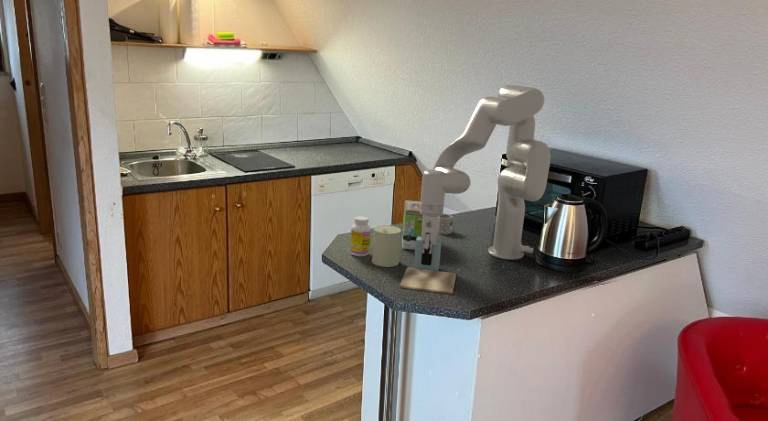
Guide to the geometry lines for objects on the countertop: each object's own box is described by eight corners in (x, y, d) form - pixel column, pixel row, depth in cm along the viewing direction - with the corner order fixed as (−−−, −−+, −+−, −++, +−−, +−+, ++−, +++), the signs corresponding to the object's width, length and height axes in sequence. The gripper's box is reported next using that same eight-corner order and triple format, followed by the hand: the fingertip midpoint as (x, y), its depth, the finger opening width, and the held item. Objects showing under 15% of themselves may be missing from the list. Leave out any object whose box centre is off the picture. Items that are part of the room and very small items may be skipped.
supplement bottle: (362, 258, 202) (364, 222, 199) (346, 253, 205) (347, 218, 202) (372, 253, 208) (375, 218, 204) (357, 249, 211) (359, 214, 207)
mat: (456, 275, 192) (456, 273, 192) (452, 294, 177) (452, 292, 177) (407, 269, 195) (407, 267, 195) (399, 287, 180) (399, 285, 180)
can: (367, 263, 197) (369, 229, 194) (377, 255, 206) (379, 222, 203) (393, 268, 194) (396, 233, 191) (402, 260, 203) (405, 226, 200)
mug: (453, 234, 235) (455, 218, 233) (437, 234, 233) (438, 218, 231) (445, 227, 244) (447, 211, 242) (430, 227, 243) (431, 211, 241)
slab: (439, 267, 198) (441, 239, 195) (437, 271, 195) (440, 242, 192) (415, 264, 199) (417, 236, 197) (413, 268, 196) (416, 239, 193)
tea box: (429, 251, 214) (433, 211, 210) (401, 249, 214) (404, 209, 210) (427, 238, 228) (430, 200, 224) (401, 236, 228) (404, 199, 224)
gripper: (440, 216, 183) (435, 272, 188) (445, 203, 199) (440, 255, 204) (416, 214, 184) (412, 269, 189) (423, 201, 200) (418, 252, 205)
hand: (427, 261), depth 196 cm, fingers open, 4 cm apart
